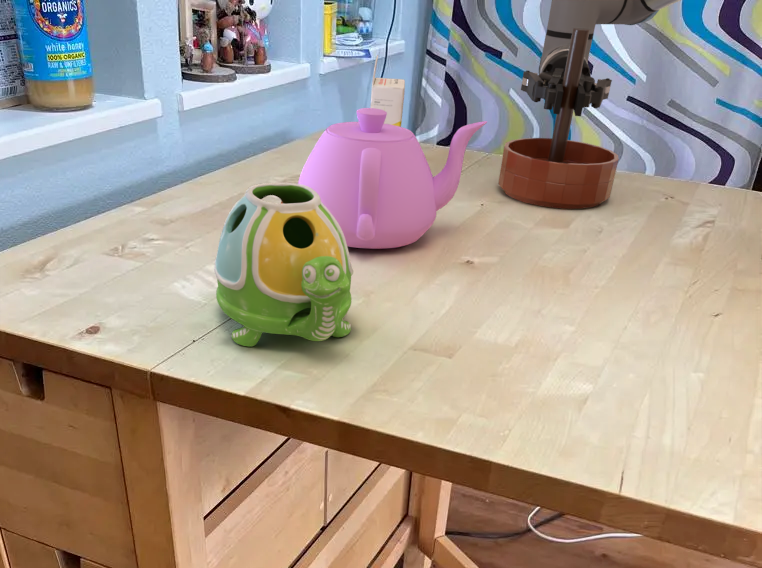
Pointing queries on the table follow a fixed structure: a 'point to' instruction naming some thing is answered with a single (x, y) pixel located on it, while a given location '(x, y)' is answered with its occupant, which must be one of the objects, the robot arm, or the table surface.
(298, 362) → the table surface
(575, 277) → the table surface
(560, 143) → the peg on round base
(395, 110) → the ink cartridge box
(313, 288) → the turtle holder
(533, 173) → the bowl
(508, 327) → the table surface
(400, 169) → the teapot
